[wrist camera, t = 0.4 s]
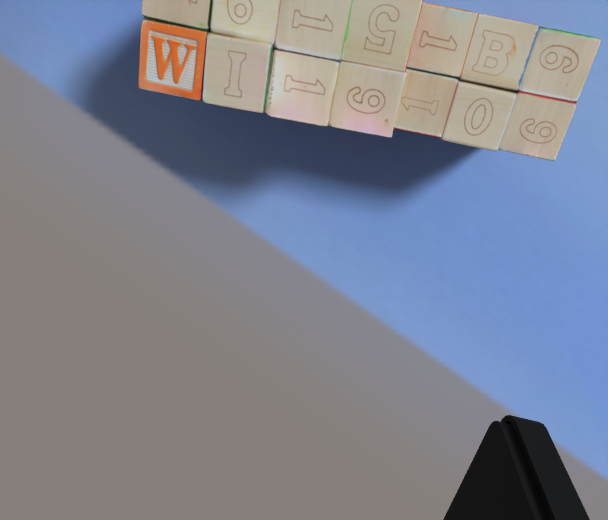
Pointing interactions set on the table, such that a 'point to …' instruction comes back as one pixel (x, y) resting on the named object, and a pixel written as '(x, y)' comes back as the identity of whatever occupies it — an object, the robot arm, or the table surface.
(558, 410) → the table surface
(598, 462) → the table surface
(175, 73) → the stack of blocks
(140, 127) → the table surface
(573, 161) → the table surface
